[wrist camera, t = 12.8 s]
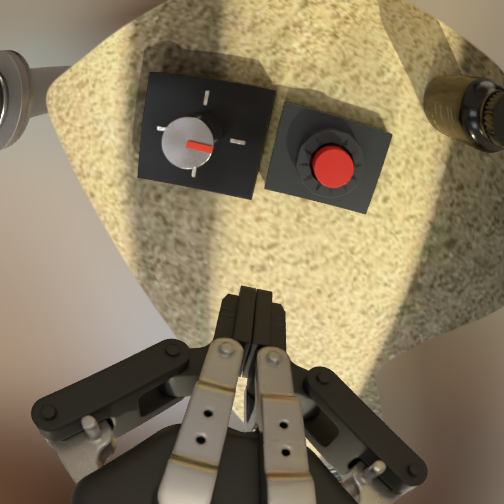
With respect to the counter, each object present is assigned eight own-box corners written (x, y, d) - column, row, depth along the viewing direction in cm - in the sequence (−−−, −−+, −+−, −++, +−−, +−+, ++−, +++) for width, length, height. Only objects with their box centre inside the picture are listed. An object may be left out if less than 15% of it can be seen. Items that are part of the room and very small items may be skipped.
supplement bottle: (453, 64, 24) (522, 67, 13) (480, 118, 26) (548, 142, 16) (409, 92, 26) (470, 102, 16) (439, 146, 29) (501, 180, 18)
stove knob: (173, 151, 29) (155, 163, 25) (183, 107, 27) (165, 112, 23) (217, 161, 29) (205, 176, 25) (228, 117, 27) (218, 124, 23)
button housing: (265, 183, 33) (263, 195, 30) (284, 101, 29) (284, 103, 26) (362, 208, 33) (370, 221, 30) (387, 131, 29) (398, 137, 26)
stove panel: (147, 169, 33) (136, 178, 30) (160, 72, 28) (148, 71, 25) (253, 190, 34) (251, 201, 31) (276, 89, 28) (276, 89, 25)
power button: (308, 176, 29) (309, 182, 28) (317, 140, 27) (320, 144, 26) (343, 186, 29) (347, 192, 28) (354, 151, 27) (358, 155, 26)
